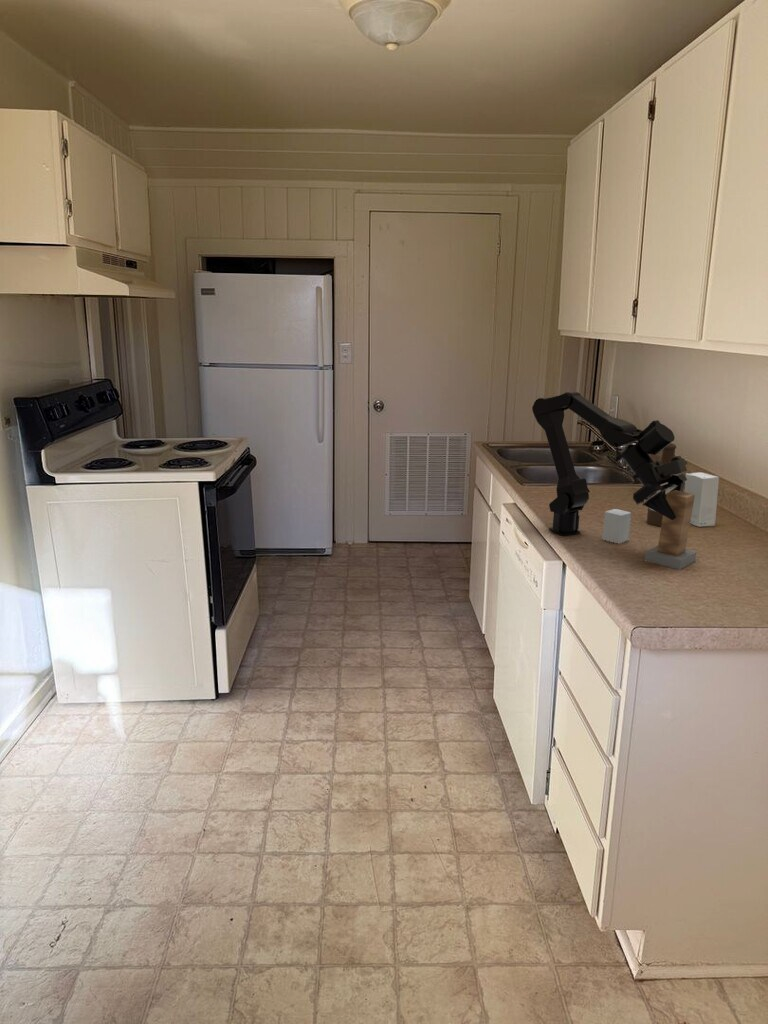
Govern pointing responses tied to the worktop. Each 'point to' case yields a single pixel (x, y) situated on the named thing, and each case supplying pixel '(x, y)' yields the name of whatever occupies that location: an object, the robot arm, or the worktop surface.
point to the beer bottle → (653, 515)
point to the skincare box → (703, 497)
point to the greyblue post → (616, 526)
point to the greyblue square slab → (670, 558)
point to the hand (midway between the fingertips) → (681, 516)
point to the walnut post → (676, 523)
